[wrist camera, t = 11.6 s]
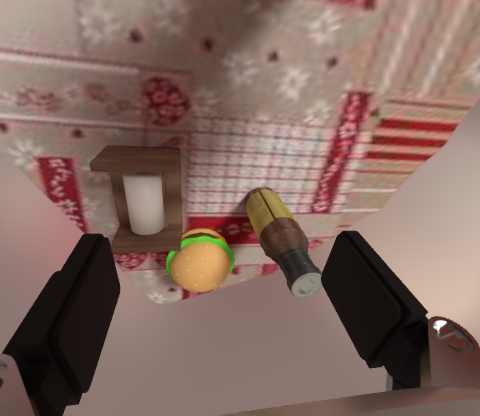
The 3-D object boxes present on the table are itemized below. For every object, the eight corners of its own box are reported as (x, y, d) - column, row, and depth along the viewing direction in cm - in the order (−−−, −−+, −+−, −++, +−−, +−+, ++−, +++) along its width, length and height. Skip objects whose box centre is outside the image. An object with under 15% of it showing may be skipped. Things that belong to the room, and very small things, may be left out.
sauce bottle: (248, 219, 45) (280, 313, 29) (240, 191, 42) (270, 279, 25) (281, 208, 45) (333, 296, 29) (276, 179, 42) (331, 260, 25)
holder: (107, 145, 34) (89, 163, 29) (179, 148, 36) (176, 165, 30) (122, 226, 42) (110, 253, 36) (182, 224, 43) (180, 250, 38)
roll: (127, 164, 35) (116, 177, 31) (163, 165, 36) (157, 179, 32) (135, 217, 40) (127, 235, 36) (167, 217, 41) (162, 235, 36)
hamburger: (169, 270, 49) (165, 307, 42) (166, 221, 43) (161, 254, 35) (228, 268, 51) (234, 303, 44) (234, 221, 45) (241, 252, 38)
